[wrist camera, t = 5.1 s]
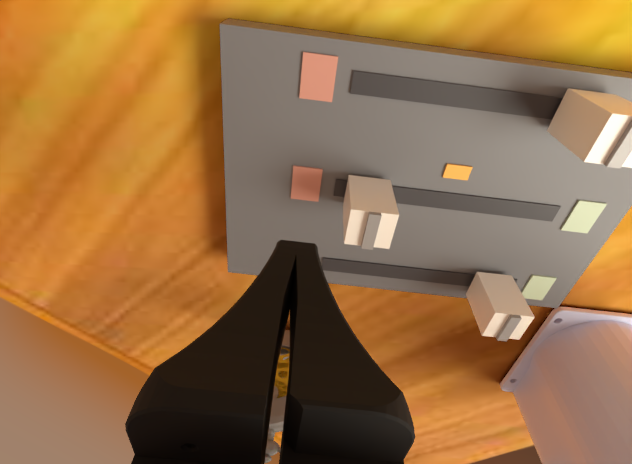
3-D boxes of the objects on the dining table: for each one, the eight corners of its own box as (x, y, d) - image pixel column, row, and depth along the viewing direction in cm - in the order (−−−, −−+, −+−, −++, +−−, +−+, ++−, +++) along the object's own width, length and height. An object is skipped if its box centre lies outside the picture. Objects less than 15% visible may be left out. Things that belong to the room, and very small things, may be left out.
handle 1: (499, 297, 22) (520, 343, 20) (465, 294, 22) (482, 338, 20) (511, 275, 21) (536, 320, 19) (476, 271, 21) (496, 315, 18)
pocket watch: (292, 387, 32) (278, 533, 24) (214, 337, 28) (167, 489, 20) (370, 349, 28) (384, 505, 20) (292, 287, 25) (273, 446, 17)
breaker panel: (546, 290, 24) (558, 309, 23) (233, 255, 23) (227, 273, 22) (687, 79, 16) (717, 90, 15) (228, 18, 16) (219, 24, 14)
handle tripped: (382, 211, 19) (389, 251, 16) (342, 206, 19) (344, 246, 16) (390, 179, 18) (400, 217, 15) (348, 174, 18) (350, 211, 15)
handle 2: (591, 136, 16) (640, 171, 14) (546, 131, 16) (586, 164, 14) (616, 94, 15) (673, 122, 13) (567, 88, 15) (615, 115, 13)
